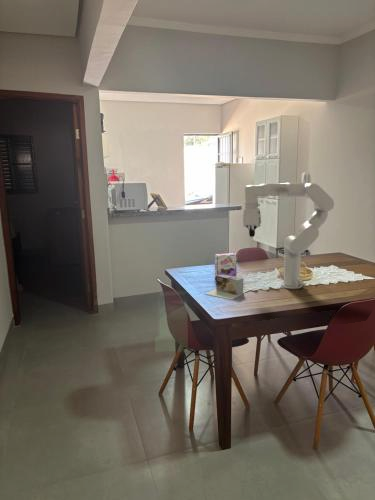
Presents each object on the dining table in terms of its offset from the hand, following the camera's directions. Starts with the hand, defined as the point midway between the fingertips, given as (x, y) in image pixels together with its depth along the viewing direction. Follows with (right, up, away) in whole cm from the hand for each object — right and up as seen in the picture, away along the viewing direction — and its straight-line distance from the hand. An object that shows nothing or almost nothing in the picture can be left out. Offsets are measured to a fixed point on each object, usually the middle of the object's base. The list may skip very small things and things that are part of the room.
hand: (252, 236), depth 224 cm
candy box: (-13, -27, +28) cm, 41 cm away
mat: (-16, -34, -3) cm, 37 cm away
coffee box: (-8, -30, -8) cm, 32 cm away
